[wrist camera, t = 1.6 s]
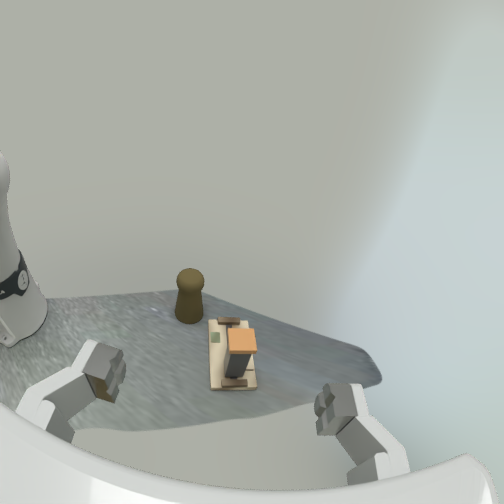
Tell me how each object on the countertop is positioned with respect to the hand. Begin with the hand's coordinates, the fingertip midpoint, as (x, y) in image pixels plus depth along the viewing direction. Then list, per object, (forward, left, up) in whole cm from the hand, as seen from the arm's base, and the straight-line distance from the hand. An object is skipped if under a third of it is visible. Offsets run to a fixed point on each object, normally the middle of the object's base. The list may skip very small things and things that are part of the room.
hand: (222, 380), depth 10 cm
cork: (-1, +32, -36) cm, 48 cm away
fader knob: (+7, +18, -34) cm, 39 cm away
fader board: (+7, +22, -36) cm, 43 cm away
